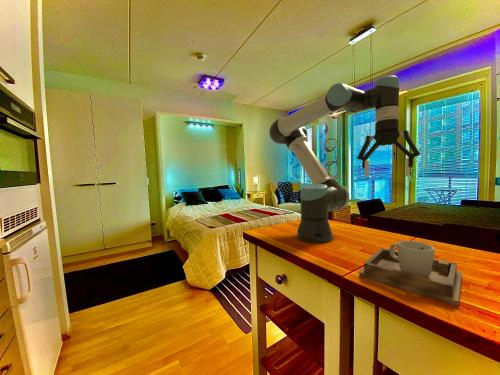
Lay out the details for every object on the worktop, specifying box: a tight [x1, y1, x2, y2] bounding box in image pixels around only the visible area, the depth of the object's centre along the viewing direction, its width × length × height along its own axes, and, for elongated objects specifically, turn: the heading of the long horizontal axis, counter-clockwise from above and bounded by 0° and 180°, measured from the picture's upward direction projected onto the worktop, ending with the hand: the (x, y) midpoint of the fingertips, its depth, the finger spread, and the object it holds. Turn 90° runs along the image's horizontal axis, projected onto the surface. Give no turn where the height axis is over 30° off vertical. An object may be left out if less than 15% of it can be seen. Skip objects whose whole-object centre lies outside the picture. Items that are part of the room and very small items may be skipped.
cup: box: [389, 240, 436, 278], centre depth 59 cm, size 11×8×8 cm
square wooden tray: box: [358, 247, 463, 308], centre depth 59 cm, size 20×18×4 cm
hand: (385, 176), depth 83 cm, fingers open, 13 cm apart
